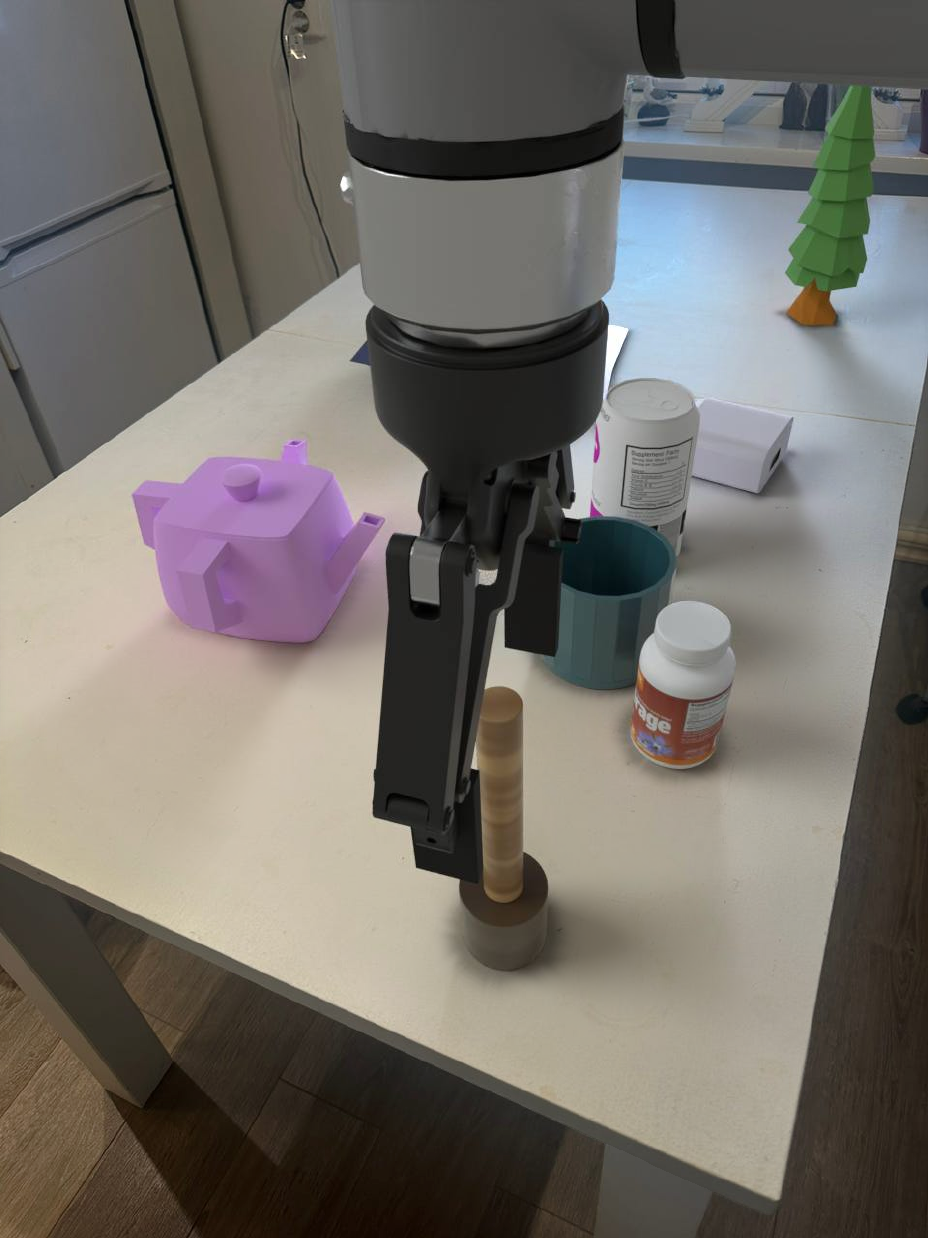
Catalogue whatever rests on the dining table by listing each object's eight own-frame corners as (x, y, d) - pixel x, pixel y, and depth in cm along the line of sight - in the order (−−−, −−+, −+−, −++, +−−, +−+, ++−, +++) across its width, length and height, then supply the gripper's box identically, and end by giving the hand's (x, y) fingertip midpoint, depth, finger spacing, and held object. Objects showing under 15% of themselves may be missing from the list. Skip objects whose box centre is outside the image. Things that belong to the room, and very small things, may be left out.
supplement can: (571, 558, 78) (579, 407, 68) (614, 513, 83) (627, 365, 73) (655, 589, 75) (675, 434, 65) (694, 539, 80) (719, 388, 70)
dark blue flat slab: (407, 306, 119) (408, 280, 117) (624, 347, 115) (630, 320, 112) (343, 390, 102) (343, 361, 99) (596, 441, 98) (602, 412, 95)
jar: (683, 676, 67) (699, 585, 61) (558, 700, 66) (561, 611, 60) (636, 594, 74) (646, 507, 68) (523, 615, 73) (523, 527, 67)
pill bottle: (614, 719, 64) (626, 605, 57) (689, 697, 65) (710, 583, 58) (655, 783, 60) (674, 669, 52) (734, 757, 61) (763, 642, 54)
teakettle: (149, 575, 79) (106, 458, 71) (321, 514, 85) (299, 399, 77) (208, 690, 68) (165, 566, 60) (401, 611, 74) (386, 488, 66)
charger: (650, 419, 96) (786, 453, 90) (613, 459, 90) (756, 498, 84) (654, 380, 93) (795, 412, 86) (617, 418, 87) (765, 455, 81)
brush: (557, 960, 51) (569, 734, 37) (473, 980, 50) (454, 757, 37) (533, 885, 54) (537, 655, 41) (455, 902, 54) (432, 675, 40)
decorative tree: (806, 297, 118) (864, 33, 98) (869, 316, 113) (944, 42, 93) (762, 318, 114) (814, 47, 94) (827, 340, 108) (896, 57, 88)
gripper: (485, 171, 36) (492, 569, 50) (154, 506, 19) (308, 971, 33) (667, 181, 34) (622, 591, 49) (488, 563, 17) (499, 1029, 31)
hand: (495, 745), depth 41 cm, fingers open, 13 cm apart
